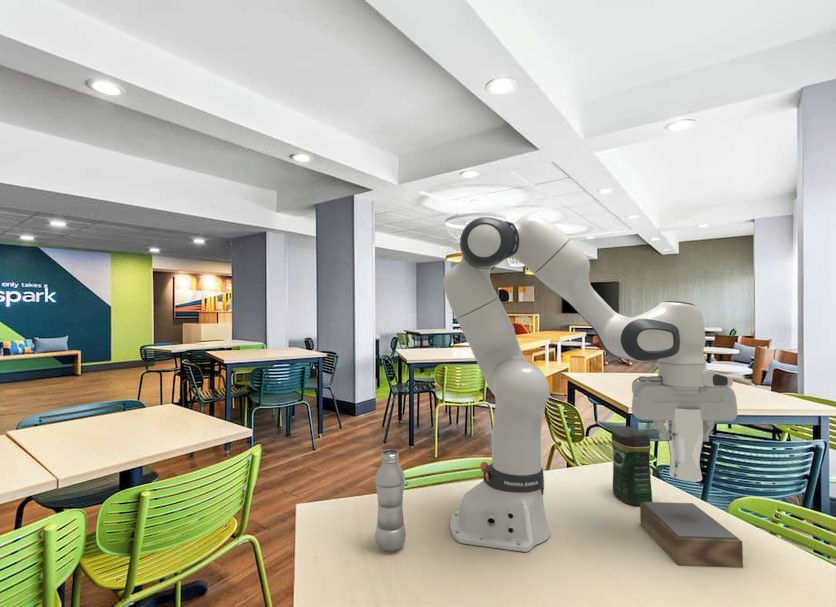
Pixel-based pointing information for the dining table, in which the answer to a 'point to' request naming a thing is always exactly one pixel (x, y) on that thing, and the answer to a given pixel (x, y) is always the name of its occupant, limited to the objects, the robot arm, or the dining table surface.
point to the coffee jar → (631, 465)
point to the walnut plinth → (691, 535)
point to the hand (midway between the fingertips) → (683, 440)
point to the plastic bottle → (390, 502)
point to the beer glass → (685, 444)
